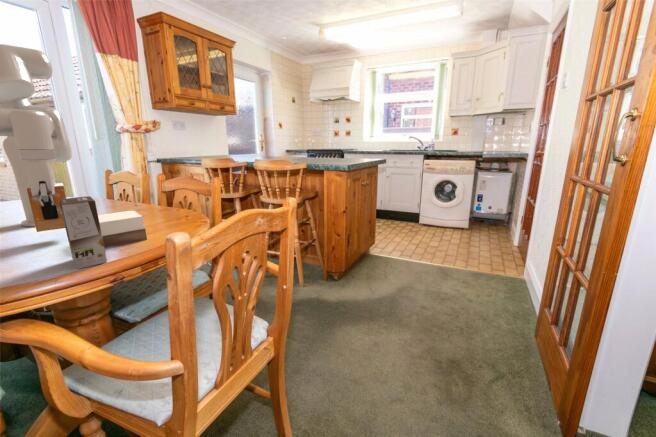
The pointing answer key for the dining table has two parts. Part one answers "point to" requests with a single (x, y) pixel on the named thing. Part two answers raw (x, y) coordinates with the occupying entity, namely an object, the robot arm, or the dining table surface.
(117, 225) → the top block
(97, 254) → the coffee box
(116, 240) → the base block
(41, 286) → the dining table surface
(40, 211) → the small box
